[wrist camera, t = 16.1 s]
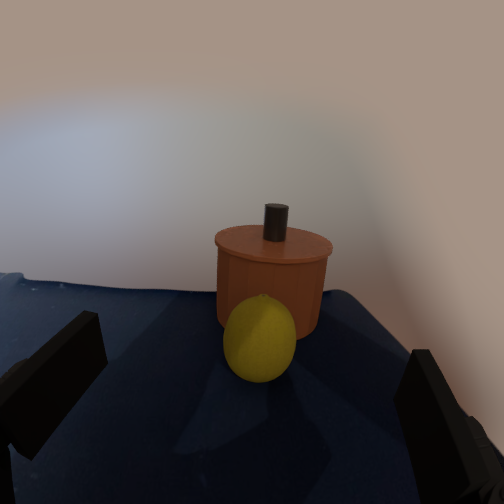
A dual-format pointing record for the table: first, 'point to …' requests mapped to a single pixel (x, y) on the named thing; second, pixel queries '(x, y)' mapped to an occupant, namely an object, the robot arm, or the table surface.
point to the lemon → (259, 339)
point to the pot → (271, 287)
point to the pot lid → (273, 240)
